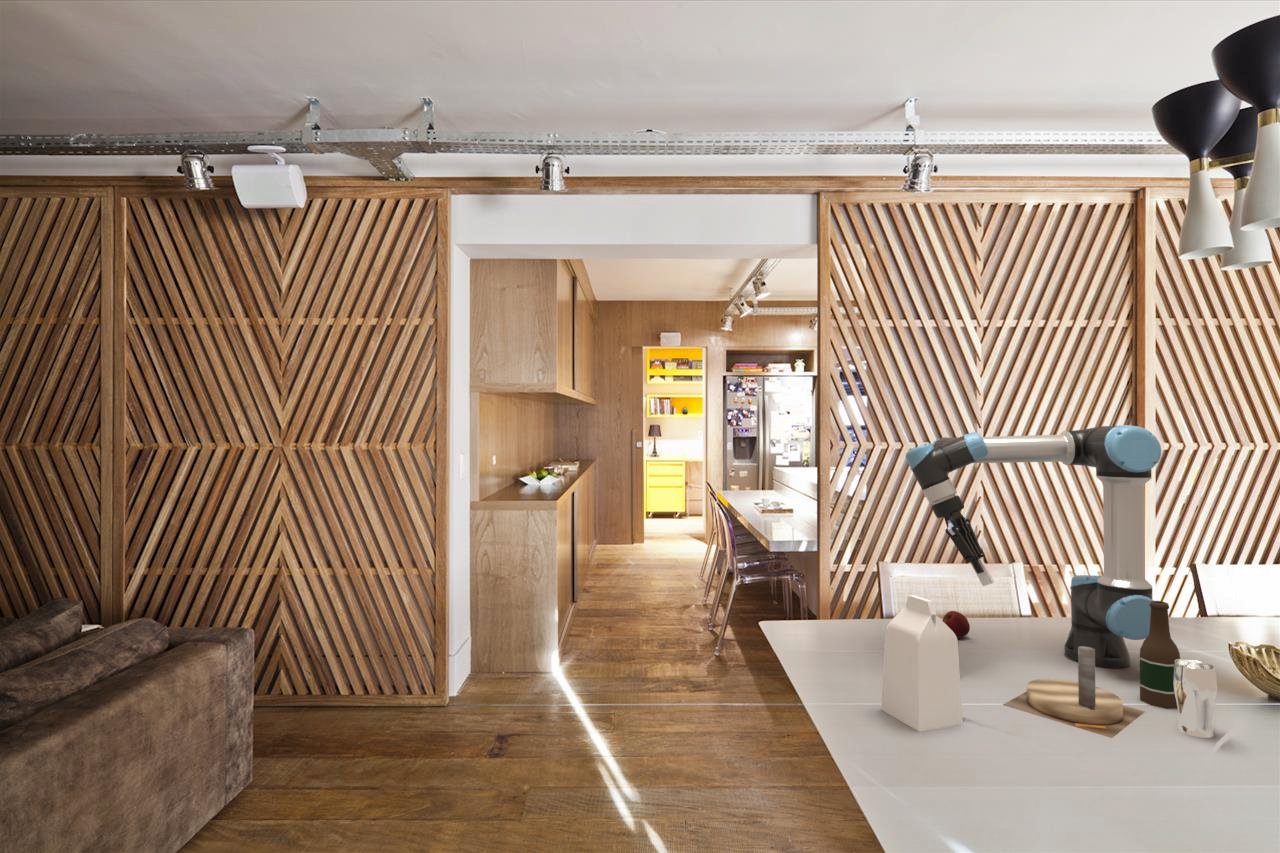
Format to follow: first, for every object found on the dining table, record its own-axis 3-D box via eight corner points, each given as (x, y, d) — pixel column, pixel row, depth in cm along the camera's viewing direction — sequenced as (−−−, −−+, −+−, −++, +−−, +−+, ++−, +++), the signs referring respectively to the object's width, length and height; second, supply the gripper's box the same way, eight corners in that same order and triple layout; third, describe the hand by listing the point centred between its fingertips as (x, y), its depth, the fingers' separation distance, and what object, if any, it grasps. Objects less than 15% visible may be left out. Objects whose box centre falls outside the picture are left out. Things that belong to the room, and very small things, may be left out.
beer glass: (1225, 746, 132) (1225, 671, 133) (1186, 743, 134) (1185, 668, 134) (1203, 731, 139) (1203, 659, 140) (1166, 728, 141) (1165, 657, 141)
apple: (938, 633, 209) (938, 607, 209) (965, 634, 208) (964, 608, 208) (946, 640, 202) (946, 613, 202) (973, 641, 201) (973, 615, 201)
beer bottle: (1173, 703, 154) (1172, 599, 154) (1188, 716, 147) (1187, 607, 147) (1133, 699, 157) (1132, 596, 157) (1146, 711, 149) (1145, 604, 150)
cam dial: (1014, 689, 159) (1013, 626, 159) (1097, 694, 156) (1097, 630, 156) (1046, 720, 141) (1045, 649, 141) (1140, 727, 138) (1140, 654, 138)
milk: (881, 709, 150) (880, 594, 151) (922, 703, 154) (922, 590, 154) (918, 731, 139) (918, 606, 139) (962, 724, 142) (962, 602, 143)
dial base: (1041, 688, 163) (1041, 682, 163) (1145, 716, 147) (1145, 710, 147) (1002, 709, 150) (1002, 703, 150) (1112, 743, 134) (1112, 736, 134)
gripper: (939, 501, 184) (982, 582, 178) (922, 508, 175) (967, 594, 169) (964, 490, 180) (1009, 573, 174) (948, 498, 170) (995, 585, 164)
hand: (988, 583), depth 171 cm, fingers closed
